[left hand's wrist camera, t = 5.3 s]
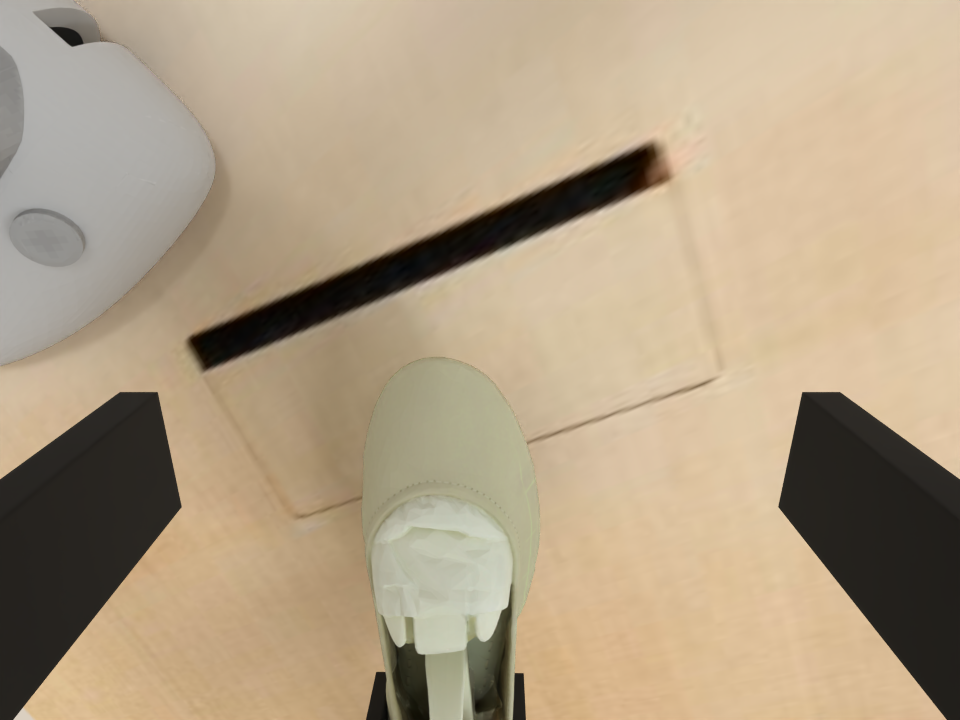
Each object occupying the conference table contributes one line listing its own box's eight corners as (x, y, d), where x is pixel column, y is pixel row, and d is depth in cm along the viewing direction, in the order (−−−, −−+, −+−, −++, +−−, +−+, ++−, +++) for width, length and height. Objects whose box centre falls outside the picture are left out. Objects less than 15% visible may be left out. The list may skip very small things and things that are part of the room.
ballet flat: (538, 344, 27) (552, 432, 19) (537, 728, 36) (547, 885, 29) (352, 349, 27) (297, 436, 20) (399, 727, 36) (373, 883, 29)
